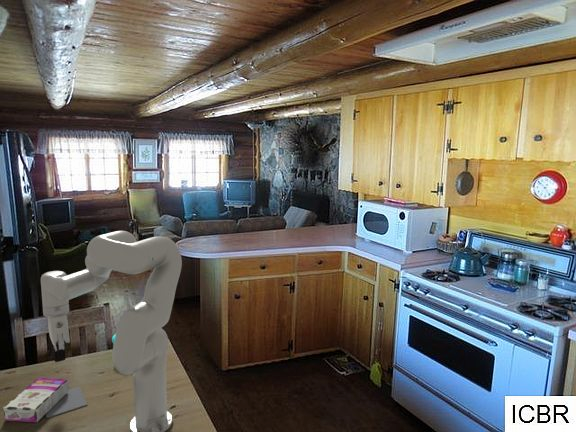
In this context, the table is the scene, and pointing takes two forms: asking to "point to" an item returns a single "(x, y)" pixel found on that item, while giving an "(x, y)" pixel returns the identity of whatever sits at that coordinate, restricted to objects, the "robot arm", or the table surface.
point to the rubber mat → (68, 402)
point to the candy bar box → (36, 400)
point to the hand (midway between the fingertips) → (59, 360)
